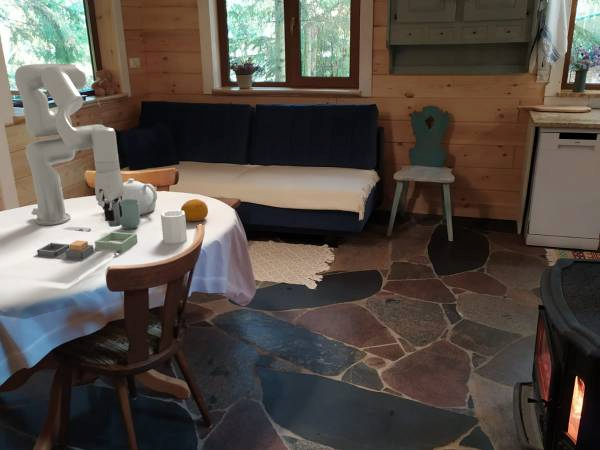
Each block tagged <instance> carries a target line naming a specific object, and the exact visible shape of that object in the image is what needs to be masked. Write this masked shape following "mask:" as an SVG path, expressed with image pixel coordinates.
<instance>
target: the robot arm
mask: <svg viewBox="0 0 600 450" xmlns="http://www.w3.org/2000/svg"><path fill="white" fill-rule="evenodd" d="M14 73H15V74H14V80H15V81H14V82H15V85H16V89H17V90H18V93H19V95H20V97H21V101H22V105H23V106H22V107H23V112H24V113H23V114H24V119H25V121H24V122H25V126H26V129H27V133H28V134H29V135H30V136H31V137H33V138H43V137H51V136H56V137H54V138H47V139H39V140H34V141H31V142H30V143H28V144H27V145H26V147H25V156H26V159H27V161H28V164H29V167H30V172H31V175H32V180H33V182H32V183H33V187H34V192H35V193H34V194H35V198H36V204H37V208H34V207H33V209H32V210H31V215H35V216H36V217H35V223H36V224H37V225H41V226H53V225H54V226H55V225H60V224H63V223H66V222H68V221H70V220H71V214H69V213H66V209H65V208H66V207H65V200H64V194H63V188H62V182H61V176H60V174H59V172H58V171H57V170H56V169H55V168H54V167H53V166H52V165H56V164H61V163H66V162H70V161H72V160H73V159H74V158H75V156H76V155H75V154H76V152H77V151H83V150H88V149H92V151H93V159H94V165H95V166H94V167H95V173H94V191H95V192H94V193H95V199H96V201H97V205H98V206H99V207H101V208H102V210H103V211H104V219H105V221H107V222H108V221H115V219H114V211H113V210H112V200H114V201H118V203H119V211H120V217H122V209H121V205H122V197H123V195H124V189H123V183H124V182H123V177H122V172H121V168H120V162H119V161H120V159H119V153H118V144H117V134H116V131H115V129H114V128H112V127H109V126H107V127H106V126H105V125H103V124H90V125H82V126H81V125H80V126H74V127H73V123H72V119H71V117H70V116H71V115H73V114H75V113H76V112H77V111H79V110H80V109H81V108H82V106H83V105H84V98H83V97H82V96H81V94H80V92H79V90H81V89H83V88H85V86H86V84H87V77H86V73H85V71H84V70H83V69H82V67H80V66H79V65H77V64H71V63H59V62H58V63H56V62H55V63H36V64H35V63H34V64H26V65H21V66H19V67H18V68H17V69H16V70H15V72H14ZM43 89H44V90H45V89H46V91H47V92H48V93H49V96H50V97H51V98H52V100H53V102H54V103H55V105H56V108H54V109H52V108H51V109H50V106H49V99H48V97H47V95H46V93H45V92H43ZM106 202H107V203H108V204H106Z"/></svg>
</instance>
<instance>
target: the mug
mask: <svg viewBox="0 0 600 450" xmlns="http://www.w3.org/2000/svg"><path fill="white" fill-rule="evenodd" d="M160 218H161V219H160V220H161V229H162V230H161V231H162V240H163V241H164V243H165V244H171V245H173V244H182V243H185V242H186V241H188V235H187V220H186V219H185V212H184V211H181V209H173V210H172V209H170V210H165V211H163V212H161V213H160Z"/></svg>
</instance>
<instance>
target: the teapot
mask: <svg viewBox="0 0 600 450" xmlns="http://www.w3.org/2000/svg"><path fill="white" fill-rule="evenodd" d="M123 189H124V195H123V197H122V200H126V199H135V200H138V201H139V207H140V216H141V215H146V214H149V213H151V212H153V211H154V210H155V208H156V204H157V202H156V201H157V199H158V195H157V194H158V193H157V191H156V188H155V187H154V186H153V184H151V183H143V182H140V181H138V180H135V179H134V178H128V179H127V181H124V182H123Z"/></svg>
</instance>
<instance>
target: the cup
mask: <svg viewBox="0 0 600 450" xmlns="http://www.w3.org/2000/svg"><path fill="white" fill-rule="evenodd" d="M121 209H122V217H120V219H121V225H120V226H121V227H122V228H124V229H125V230H133V229H136V228H137V227H138V226H139V225H140V223H141V215H140V207H139V201H138V200H135V199H126V200H122V205H121Z"/></svg>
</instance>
